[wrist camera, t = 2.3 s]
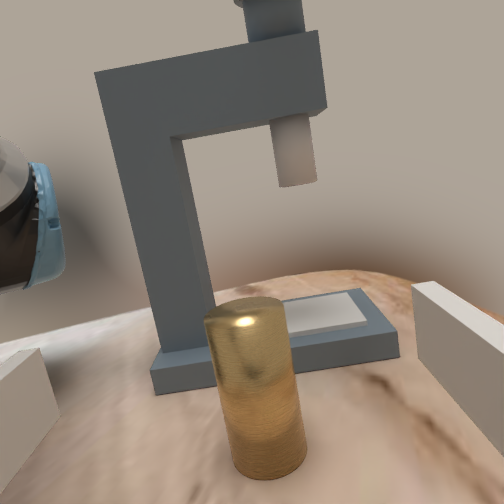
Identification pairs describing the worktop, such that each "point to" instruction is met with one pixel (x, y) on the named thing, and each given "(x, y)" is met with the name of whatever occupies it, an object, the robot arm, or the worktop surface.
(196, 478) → the worktop surface
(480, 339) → the robot arm
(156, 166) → the press frame
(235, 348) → the cylinder
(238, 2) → the lever
